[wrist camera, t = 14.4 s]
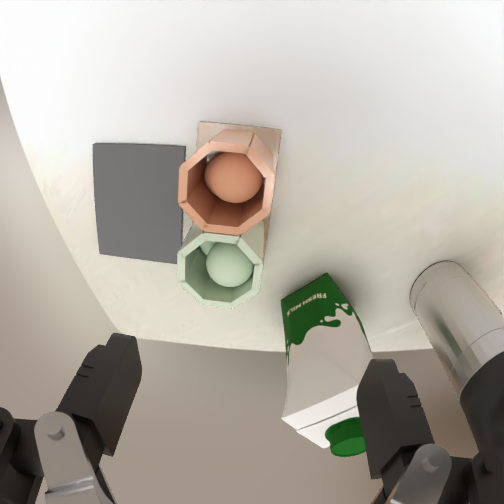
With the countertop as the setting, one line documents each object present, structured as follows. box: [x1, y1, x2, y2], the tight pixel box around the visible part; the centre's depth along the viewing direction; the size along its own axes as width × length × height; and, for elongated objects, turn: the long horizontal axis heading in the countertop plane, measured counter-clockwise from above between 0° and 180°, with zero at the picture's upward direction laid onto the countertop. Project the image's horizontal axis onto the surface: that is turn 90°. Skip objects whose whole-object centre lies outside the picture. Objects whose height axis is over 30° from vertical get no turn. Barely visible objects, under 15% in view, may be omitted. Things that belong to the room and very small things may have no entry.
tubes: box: [177, 122, 281, 309], centre depth 31 cm, size 8×16×10 cm, turn 174°
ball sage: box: [206, 242, 254, 287], centre depth 31 cm, size 4×4×4 cm
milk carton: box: [281, 273, 373, 457], centre depth 32 cm, size 9×9×20 cm
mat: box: [93, 143, 186, 264], centre depth 35 cm, size 11×14×1 cm
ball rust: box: [209, 152, 263, 203], centre depth 27 cm, size 4×4×4 cm
